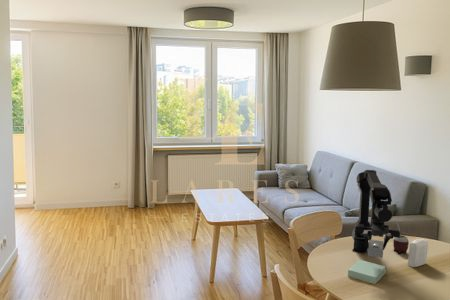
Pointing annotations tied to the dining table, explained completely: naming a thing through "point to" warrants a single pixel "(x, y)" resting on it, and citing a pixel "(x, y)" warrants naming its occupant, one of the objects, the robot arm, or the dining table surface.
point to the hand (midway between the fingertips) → (375, 248)
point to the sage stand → (367, 271)
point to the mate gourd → (400, 243)
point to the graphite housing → (375, 248)
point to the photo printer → (418, 253)
